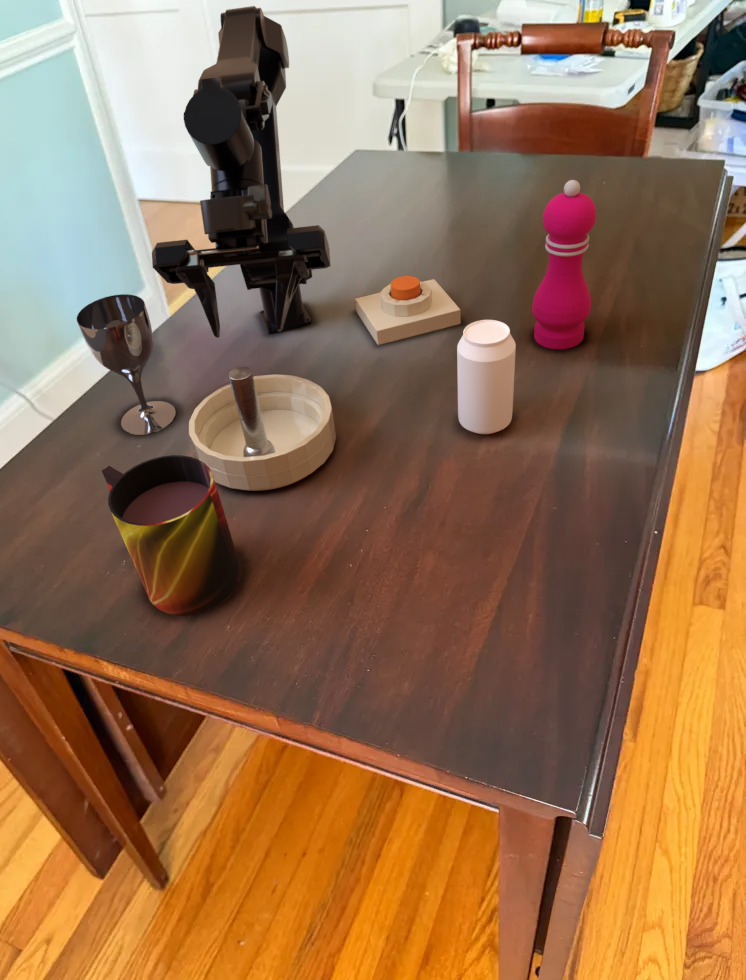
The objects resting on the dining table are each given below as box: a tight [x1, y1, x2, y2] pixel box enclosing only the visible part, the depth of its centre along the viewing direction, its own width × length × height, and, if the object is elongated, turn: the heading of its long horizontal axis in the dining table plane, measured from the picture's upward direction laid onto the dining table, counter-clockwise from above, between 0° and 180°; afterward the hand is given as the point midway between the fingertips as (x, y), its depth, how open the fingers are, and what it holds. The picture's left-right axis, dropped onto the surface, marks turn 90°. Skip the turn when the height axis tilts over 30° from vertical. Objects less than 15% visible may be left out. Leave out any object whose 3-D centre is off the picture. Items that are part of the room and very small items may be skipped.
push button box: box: [354, 278, 462, 346], centre depth 109 cm, size 10×12×4 cm
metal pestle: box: [228, 366, 275, 457], centre depth 84 cm, size 4×4×12 cm
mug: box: [101, 454, 242, 616], centre depth 75 cm, size 10×14×12 cm
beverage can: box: [456, 319, 517, 435], centre depth 87 cm, size 6×6×12 cm
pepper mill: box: [531, 179, 597, 350], centre depth 95 cm, size 7×7×20 cm
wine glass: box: [76, 293, 177, 436], centre depth 95 cm, size 8×8×15 cm
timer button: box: [390, 275, 421, 300], centre depth 107 cm, size 4×4×2 cm
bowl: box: [188, 373, 337, 492], centre depth 91 cm, size 16×17×5 cm
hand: (247, 333), depth 85 cm, fingers open, 7 cm apart
